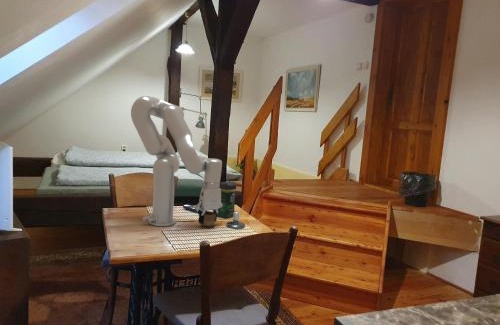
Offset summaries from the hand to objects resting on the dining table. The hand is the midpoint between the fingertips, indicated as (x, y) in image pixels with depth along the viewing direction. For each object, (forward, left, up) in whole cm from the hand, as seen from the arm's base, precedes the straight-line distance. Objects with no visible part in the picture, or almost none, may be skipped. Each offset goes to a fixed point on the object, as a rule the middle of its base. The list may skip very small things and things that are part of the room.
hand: (207, 221), depth 169 cm
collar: (0, 0, -1) cm, 1 cm away
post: (+12, -7, -2) cm, 14 cm away
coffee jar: (+20, +9, -2) cm, 22 cm away
